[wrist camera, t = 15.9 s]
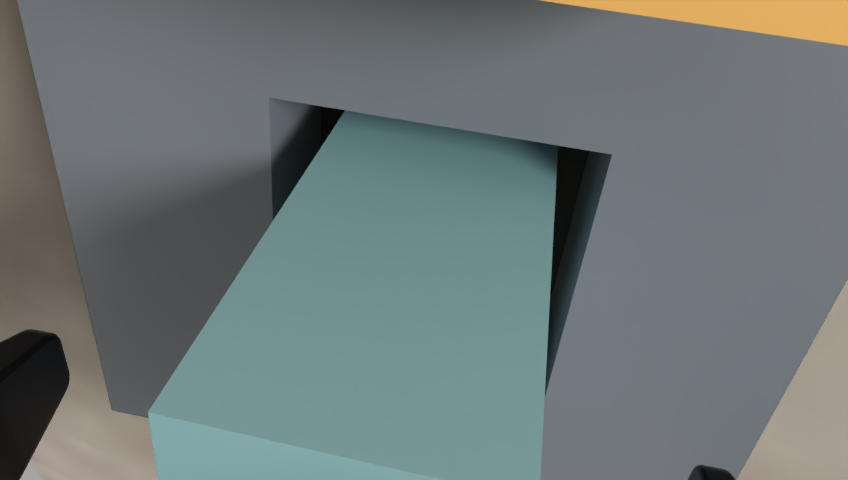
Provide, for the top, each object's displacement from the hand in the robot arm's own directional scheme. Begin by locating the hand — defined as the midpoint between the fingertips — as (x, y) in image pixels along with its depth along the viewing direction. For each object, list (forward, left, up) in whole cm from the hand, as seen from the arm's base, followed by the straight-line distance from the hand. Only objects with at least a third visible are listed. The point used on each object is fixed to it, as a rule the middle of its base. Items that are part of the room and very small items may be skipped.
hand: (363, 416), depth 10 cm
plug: (0, 0, -7) cm, 7 cm away
